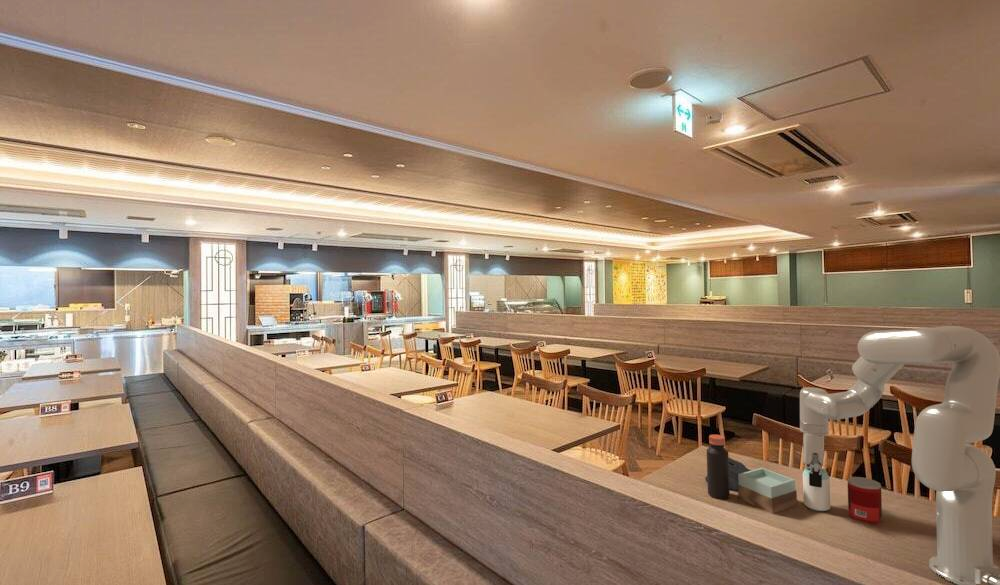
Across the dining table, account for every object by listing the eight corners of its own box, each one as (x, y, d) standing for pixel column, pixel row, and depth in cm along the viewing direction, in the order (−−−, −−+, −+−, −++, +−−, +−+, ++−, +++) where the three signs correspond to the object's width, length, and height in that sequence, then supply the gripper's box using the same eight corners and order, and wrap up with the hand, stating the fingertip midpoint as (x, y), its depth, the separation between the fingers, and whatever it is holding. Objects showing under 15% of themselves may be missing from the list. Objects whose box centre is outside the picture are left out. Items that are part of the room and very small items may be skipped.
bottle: (727, 491, 160) (725, 434, 160) (731, 500, 153) (729, 440, 153) (706, 489, 162) (704, 433, 162) (709, 498, 155) (707, 439, 155)
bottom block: (797, 505, 149) (796, 490, 149) (772, 514, 144) (772, 498, 144) (762, 491, 160) (761, 477, 160) (738, 499, 155) (737, 484, 155)
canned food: (888, 525, 135) (887, 487, 135) (857, 523, 137) (856, 486, 136) (872, 512, 142) (871, 477, 142) (843, 511, 144) (842, 475, 144)
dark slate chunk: (697, 484, 168) (697, 471, 168) (715, 465, 184) (715, 453, 184) (744, 495, 158) (743, 481, 158) (758, 474, 174) (758, 461, 174)
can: (808, 511, 144) (807, 473, 144) (800, 501, 151) (798, 464, 151) (834, 513, 143) (833, 474, 143) (824, 502, 150) (823, 466, 149)
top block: (795, 490, 149) (795, 479, 149) (771, 498, 144) (771, 487, 144) (762, 477, 159) (761, 467, 159) (738, 484, 155) (738, 474, 155)
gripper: (798, 418, 156) (798, 467, 157) (801, 433, 141) (801, 488, 142) (825, 421, 153) (825, 472, 153) (831, 437, 138) (831, 494, 138)
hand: (814, 480), depth 148 cm, fingers open, 9 cm apart
